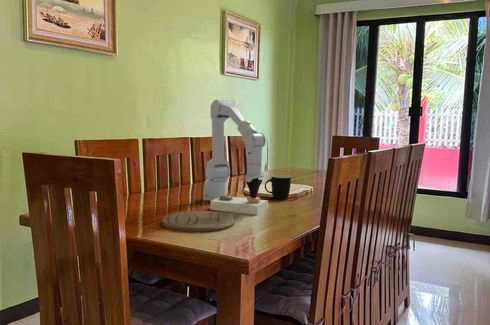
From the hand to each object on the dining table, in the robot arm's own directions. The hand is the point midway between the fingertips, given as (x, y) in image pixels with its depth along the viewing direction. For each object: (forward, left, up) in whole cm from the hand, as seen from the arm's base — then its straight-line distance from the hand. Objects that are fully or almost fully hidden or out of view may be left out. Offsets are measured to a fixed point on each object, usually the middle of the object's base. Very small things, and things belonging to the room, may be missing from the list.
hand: (253, 197), depth 175 cm
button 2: (0, 0, -4) cm, 4 cm away
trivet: (-10, -27, -6) cm, 29 cm away
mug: (0, +31, -6) cm, 31 cm away
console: (-6, 0, -5) cm, 8 cm away
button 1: (-12, 0, -4) cm, 13 cm away
